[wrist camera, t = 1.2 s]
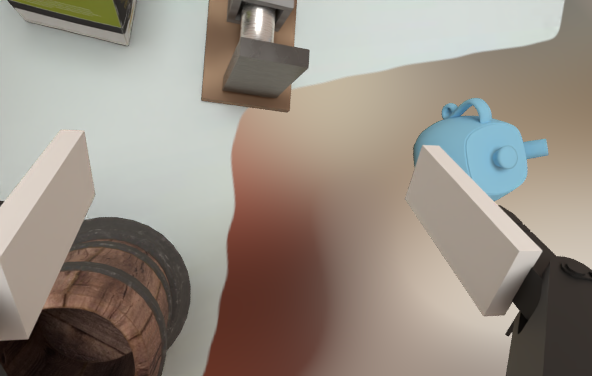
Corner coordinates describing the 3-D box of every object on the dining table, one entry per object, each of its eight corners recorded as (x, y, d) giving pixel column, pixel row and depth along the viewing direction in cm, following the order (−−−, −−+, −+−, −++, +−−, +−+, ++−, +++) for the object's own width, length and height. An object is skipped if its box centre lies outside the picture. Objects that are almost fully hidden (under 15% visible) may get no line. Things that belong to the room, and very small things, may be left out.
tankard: (165, 197, 43) (164, 195, 24) (209, 344, 44) (240, 453, 25) (-98, 269, 36) (-392, 347, 17) (-39, 442, 37) (-256, 698, 18)
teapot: (449, 242, 54) (520, 252, 43) (376, 181, 51) (432, 176, 40) (501, 153, 57) (578, 143, 47) (434, 91, 54) (501, 64, 43)
